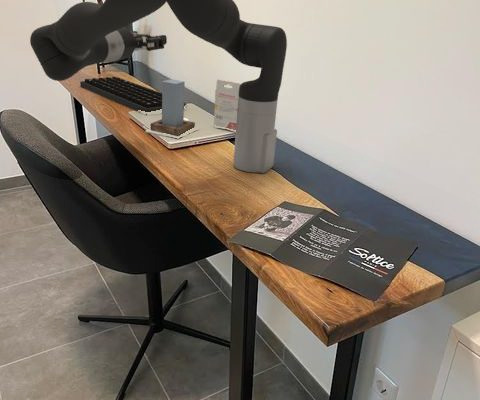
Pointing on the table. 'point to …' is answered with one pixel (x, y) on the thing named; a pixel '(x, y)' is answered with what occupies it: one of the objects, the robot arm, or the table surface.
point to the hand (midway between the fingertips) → (150, 37)
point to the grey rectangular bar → (173, 102)
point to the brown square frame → (172, 128)
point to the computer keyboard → (125, 93)
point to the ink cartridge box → (226, 104)
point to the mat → (160, 133)
